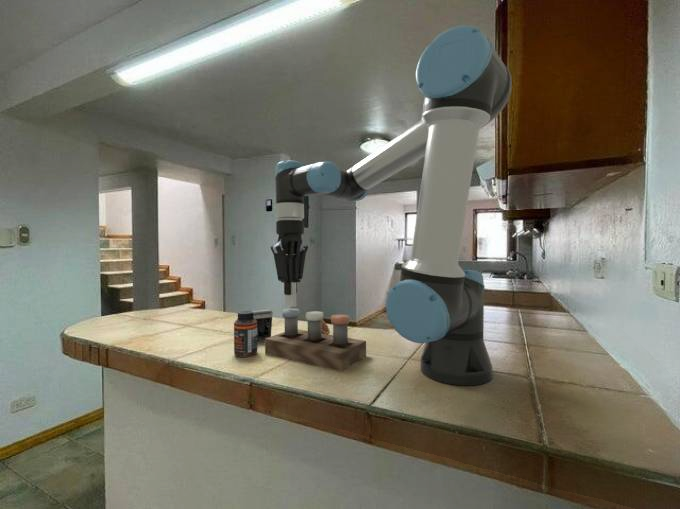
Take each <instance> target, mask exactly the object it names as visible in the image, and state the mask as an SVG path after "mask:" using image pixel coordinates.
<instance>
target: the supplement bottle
mask: <svg viewBox="0 0 680 509" xmlns="http://www.w3.org/2000/svg"><path fill="white" fill-rule="evenodd" d="M253 311H254V310H240V311H238V312H237V319H236V320H235V321H234V322H233V351H234V354H233V355H235V356H236V357H238V358H249V357H253V356H255V355H256V354H257V353H258V341H257V321H256V320H255V319H254V318H253V316H254V315H253Z"/></svg>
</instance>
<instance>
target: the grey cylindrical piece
mask: <svg viewBox="0 0 680 509" xmlns="http://www.w3.org/2000/svg"><path fill="white" fill-rule="evenodd" d="M282 317H283V318H284V332H285V335H296V334H298V330H299V321H298V320H299V319H298V318H299V317H300V309H299V308H286V309H285V308H284V309H282Z"/></svg>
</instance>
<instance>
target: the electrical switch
mask: <svg viewBox="0 0 680 509" xmlns="http://www.w3.org/2000/svg"><path fill="white" fill-rule="evenodd" d="M252 311H253V315H254V316H253V318H254V319H255V320H256V321H257V342H262V341H265V338H268V337H271V336H272V325H273V311H272V310H271V309H262V310H260V309H259V310H252Z"/></svg>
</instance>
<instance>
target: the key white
mask: <svg viewBox="0 0 680 509" xmlns="http://www.w3.org/2000/svg"><path fill="white" fill-rule="evenodd" d="M322 319H323V320H324V312H323V311H315V310H314V311H307V312H305V321H307V331H308V339H311V340H318V339H321V338H322V331H321V320H322Z"/></svg>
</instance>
